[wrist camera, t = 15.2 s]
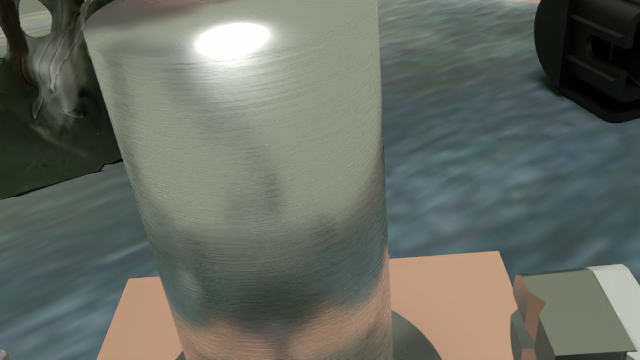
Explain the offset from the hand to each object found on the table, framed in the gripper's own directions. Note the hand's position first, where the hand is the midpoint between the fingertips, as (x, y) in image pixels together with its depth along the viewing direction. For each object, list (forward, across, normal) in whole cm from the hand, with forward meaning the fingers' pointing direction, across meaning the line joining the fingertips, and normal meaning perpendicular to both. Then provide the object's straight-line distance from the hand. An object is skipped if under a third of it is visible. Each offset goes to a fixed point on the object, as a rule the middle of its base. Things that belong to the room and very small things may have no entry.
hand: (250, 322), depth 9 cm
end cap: (+27, -19, +10) cm, 34 cm away
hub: (+4, 0, +8) cm, 9 cm away
